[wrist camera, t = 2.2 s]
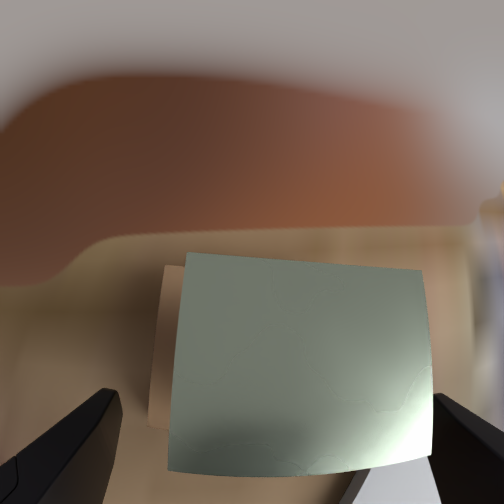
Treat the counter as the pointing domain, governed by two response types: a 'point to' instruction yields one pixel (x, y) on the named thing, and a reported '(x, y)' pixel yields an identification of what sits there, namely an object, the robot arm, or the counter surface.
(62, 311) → the counter surface
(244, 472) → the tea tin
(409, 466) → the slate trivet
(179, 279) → the tan flat block
